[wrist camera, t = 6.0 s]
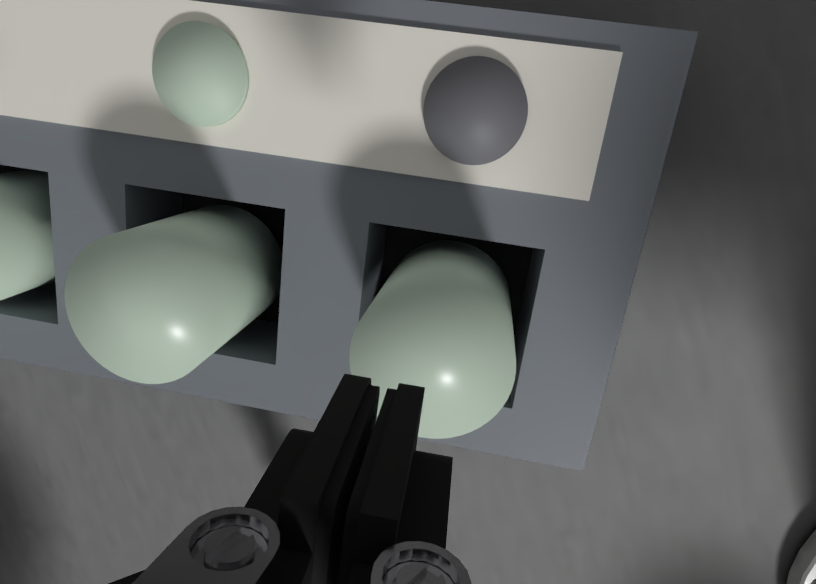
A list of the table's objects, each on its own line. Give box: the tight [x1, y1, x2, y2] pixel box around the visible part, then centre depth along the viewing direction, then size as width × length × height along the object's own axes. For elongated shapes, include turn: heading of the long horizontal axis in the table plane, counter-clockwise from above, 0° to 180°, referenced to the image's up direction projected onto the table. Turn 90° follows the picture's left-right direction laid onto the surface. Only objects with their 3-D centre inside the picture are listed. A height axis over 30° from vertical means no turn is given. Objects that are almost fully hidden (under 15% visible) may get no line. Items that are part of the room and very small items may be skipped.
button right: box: [349, 240, 516, 439], centre depth 19 cm, size 5×5×6 cm
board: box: [0, 0, 699, 471], centre depth 22 cm, size 30×15×4 cm, turn 83°
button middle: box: [64, 205, 282, 384], centre depth 20 cm, size 5×5×6 cm
